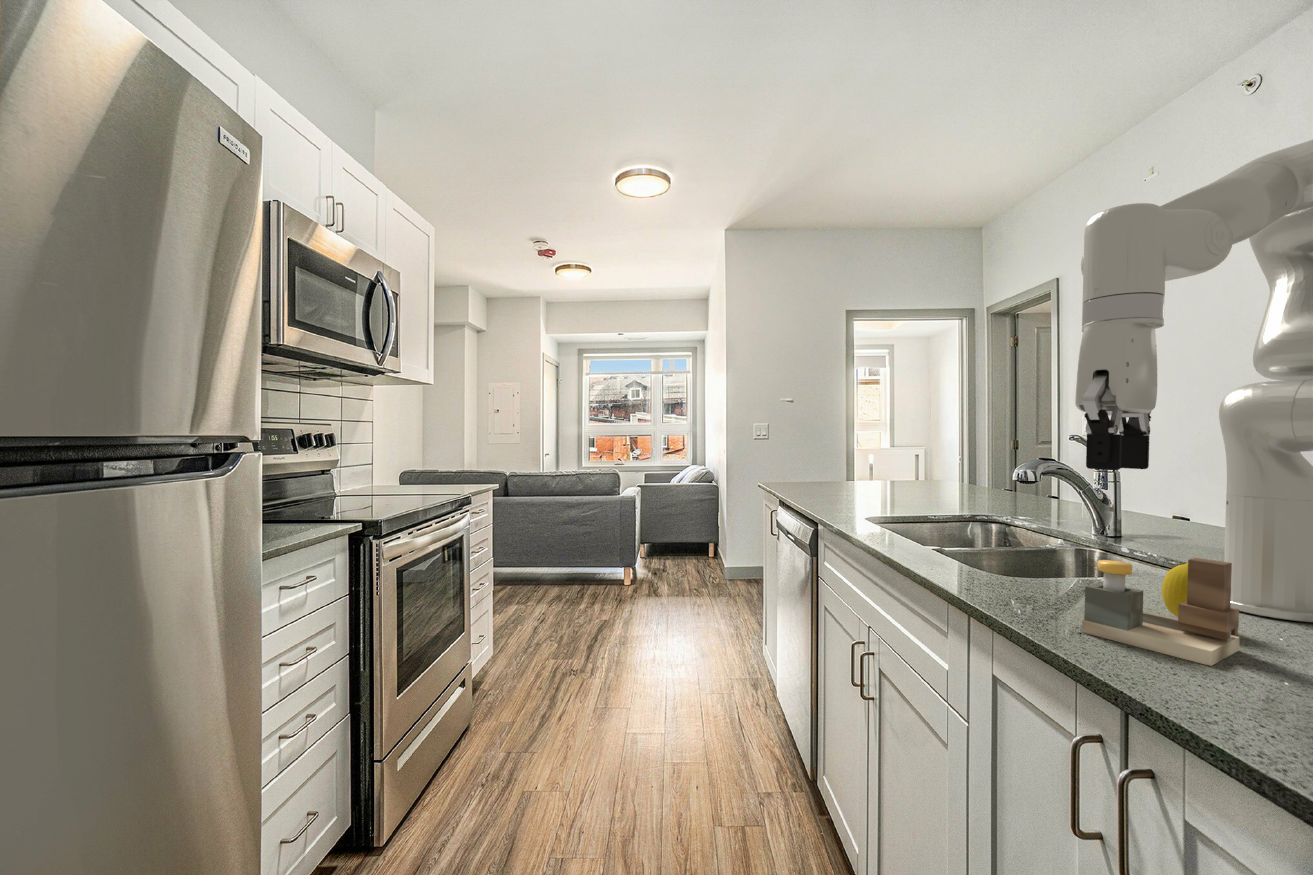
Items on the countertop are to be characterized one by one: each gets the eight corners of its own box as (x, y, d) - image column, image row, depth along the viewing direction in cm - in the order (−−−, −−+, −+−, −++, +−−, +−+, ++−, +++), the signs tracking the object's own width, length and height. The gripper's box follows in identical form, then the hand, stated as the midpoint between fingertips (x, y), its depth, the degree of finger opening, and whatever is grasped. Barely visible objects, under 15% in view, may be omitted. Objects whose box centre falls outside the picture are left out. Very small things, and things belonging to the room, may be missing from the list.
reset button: (1103, 600, 71) (1104, 559, 71) (1135, 607, 68) (1137, 564, 68) (1091, 603, 69) (1092, 561, 69) (1124, 611, 67) (1125, 567, 66)
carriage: (1190, 623, 68) (1192, 556, 68) (1238, 634, 64) (1240, 563, 64) (1177, 629, 66) (1179, 559, 66) (1226, 640, 62) (1228, 566, 62)
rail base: (1114, 621, 74) (1115, 577, 74) (1239, 650, 65) (1240, 600, 65) (1081, 632, 70) (1083, 586, 70) (1211, 665, 60) (1212, 612, 60)
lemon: (1232, 635, 70) (1234, 568, 70) (1179, 631, 71) (1181, 565, 71) (1200, 620, 75) (1201, 558, 75) (1150, 617, 76) (1152, 555, 76)
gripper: (1115, 329, 76) (1111, 466, 76) (1049, 312, 67) (1045, 467, 67) (1190, 320, 70) (1186, 470, 70) (1129, 300, 61) (1124, 472, 61)
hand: (1117, 467), depth 69 cm, fingers open, 6 cm apart
